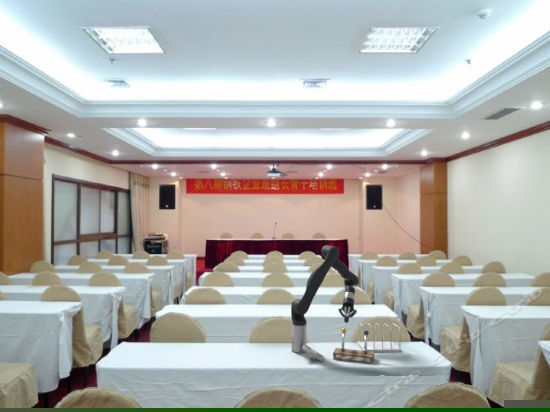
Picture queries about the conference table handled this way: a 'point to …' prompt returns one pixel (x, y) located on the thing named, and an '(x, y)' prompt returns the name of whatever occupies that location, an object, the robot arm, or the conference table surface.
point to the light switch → (313, 353)
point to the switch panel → (353, 355)
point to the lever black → (365, 341)
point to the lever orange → (343, 338)
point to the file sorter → (380, 345)
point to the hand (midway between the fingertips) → (346, 322)
